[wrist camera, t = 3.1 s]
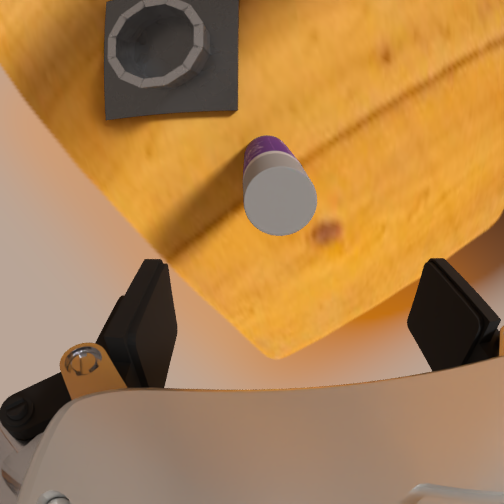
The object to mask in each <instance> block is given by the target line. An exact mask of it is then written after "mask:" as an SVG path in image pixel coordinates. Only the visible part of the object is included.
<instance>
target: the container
mask: <svg viewBox="0 0 504 504" xmlns="http://www.w3.org/2000/svg"><path fill="white" fill-rule="evenodd" d="M243 197H244V209H245V212H246V215H247V217H248V219H249V220H250V222H251V223H252V224H253V225H254V226H255V227H256V228H257V229H259V230H260V231H262V232H264V233H267V234H270V235H276V236H283V235H289V234H292V233H295V232H297V231H299V230H300V229H302V228H303V227H304V226H306V225H307V224H308V223H309V221H310V220H311V218H312V217H313V215H314V213H315V210H316V206H317V194H316V190H315V188H314V185H313V184H312V182H311V180H310V179H309V177H308V175H307V174H306V172H305V171H304V169H303V167H302V165H301V164H300V163H299V161H298V160H297V159H296V157H295V156H294V155H293V154H292V152H291V151H290V150H289V149H288V147H287V146H286V145H285V144H284V143H283V142H282V141H281V140H280V139H278V138H276V137H274V136H260V137H258V138H256V139H254V140H253V141H251V142H250V144H249V145H248V146H247V148H246V151H245V156H244V170H243Z"/></svg>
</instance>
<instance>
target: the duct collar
mask: <svg viewBox="0 0 504 504" xmlns="http://www.w3.org/2000/svg"><path fill="white" fill-rule="evenodd" d="M238 28H239V0H112V1H108V2H107V3H106V18H105V42H104V89H105V113H106V120H112V119H119V118H127V117H135V116H144V115H154V114H166V113H179V112H197V111H226V110H238Z"/></svg>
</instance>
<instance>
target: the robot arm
mask: <svg viewBox="0 0 504 504" xmlns="http://www.w3.org/2000/svg"><path fill="white" fill-rule="evenodd" d="M500 321H501V319H500V318H499V317H498V316H497V315H496V313H495V312H494V311H493V310H492V309H491V308H490V306H488V304H487V303H486V302H485V301H484V300H483V299H482V298H481V296H480V295H479V294H478V293H477V292H476V291H475V290H474V289H473V288H472V287H471V286H470V285H469V284H468V282H467V281H466V280H465V279H464V278H463V277H462V276H461V275H460V274H459V273H458V272H457V271H456V270H455V269H454V268H453V267H452V266H451V265H450V264H449V263H448V262H447V261H446V260H445V259H443V258H431V259H429V261H428V262H427V263H425V265H424V268H423V271H422V275H421V278H420V282H419V285H418V289H417V292H416V295H415V298H414V301H413V304H412V308H411V311H410V314H409V316H408V320H407V325H408V328H409V330H410V332H411V334H412V335H413V337H414V339H415V341H416V342H417V344H418V346H419V348H420V349H421V351H422V353H423V355H424V357H425V358H426V360H427V362H428V364H429V365H430V367H431V369H432V371H433V372H427V373H422V374H416V375H410V376H405V377H398V378H392V379H385V380H377V381H370V382H362V383H353V384H343V385H333V386H320V387H307V388H290V389H266V390H265V389H262V390H213V389H212V390H211V389H174V388H164V386H165V382H166V378H167V373H168V369H169V365H170V361H171V356H172V352H173V349H174V345H175V341H176V336H177V322H176V316H175V310H174V303H173V297H172V291H171V283H170V276H169V269H168V265H167V264H163V262H162V260H161V259H145V260H144V261H143V263H142V265H141V267H140V269H139V270H138V272H137V274H136V276H135V277H134V279H133V281H132V283H131V285H130V287H129V288H128V290H127V292H126V294H125V296H121V297H120V298H119V299H118V301H117V303H116V305H115V307H114V308H113V310H112V312H111V314H110V316H109V318H108V320H107V322H106V324H105V325H104V327H103V329H102V331H101V333H100V335H99V337H98V339H97V341H96V343H82V344H78V345H76V346H73V347H72V348H70V349H69V350H67V351H66V352H65V353H64V355H63V356H62V358H61V361H60V370H61V372H60V373H58V374H56V375H54V376H52V377H49V378H47V379H45V380H43V381H41V382H39V383H37V384H34V385H32V386H30V387H28V388H26V389H24V390H22V391H20V392H17V393H15V394H13V395H12V396H10V397H8V398H7V399H6V401H4V403H3V404H2V406H1V408H0V504H504V326H503V327H502V328H501V329H500V331H498V329H497V327H498V325H499V323H500Z"/></svg>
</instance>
